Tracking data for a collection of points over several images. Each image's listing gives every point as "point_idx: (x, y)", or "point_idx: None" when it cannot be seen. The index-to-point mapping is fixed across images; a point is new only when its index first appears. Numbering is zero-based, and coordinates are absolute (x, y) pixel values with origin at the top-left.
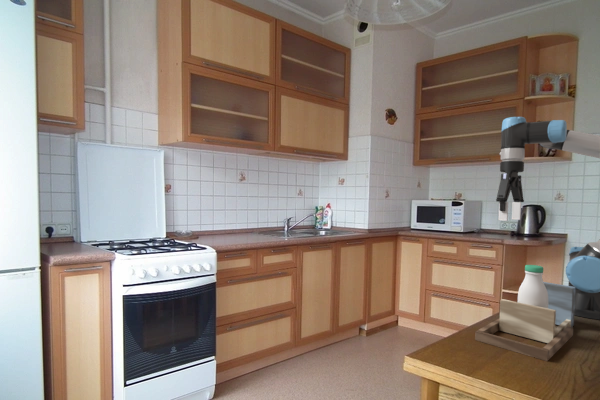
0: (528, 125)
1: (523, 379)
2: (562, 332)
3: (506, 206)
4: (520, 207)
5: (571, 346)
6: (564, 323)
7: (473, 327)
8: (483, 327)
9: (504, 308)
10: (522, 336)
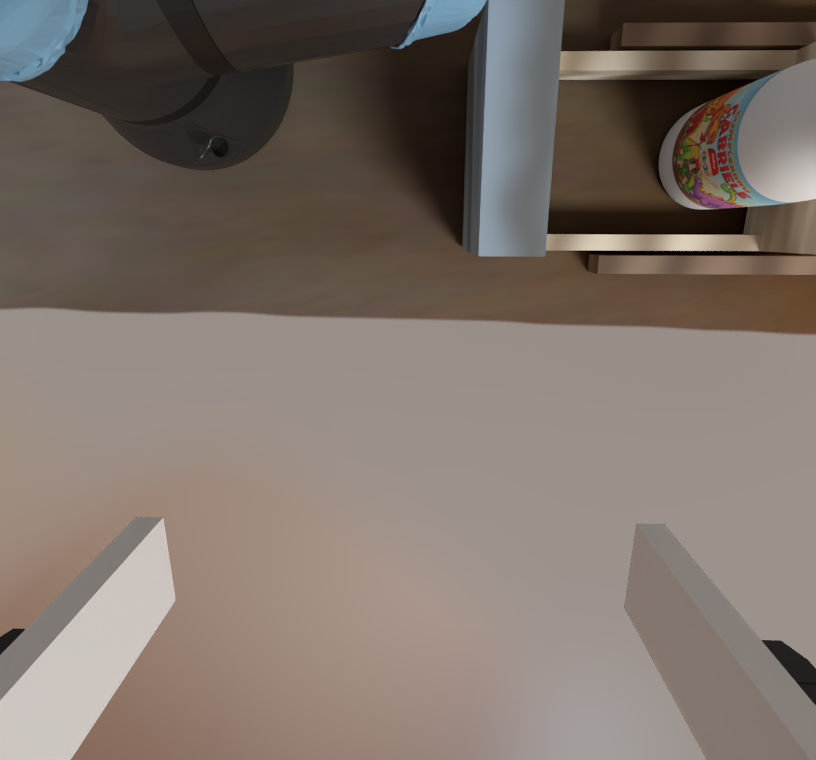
0: None
1: None
2: (734, 38)
3: (790, 691)
4: (34, 648)
5: (755, 8)
6: (607, 59)
7: (775, 326)
8: None
9: None
10: None
